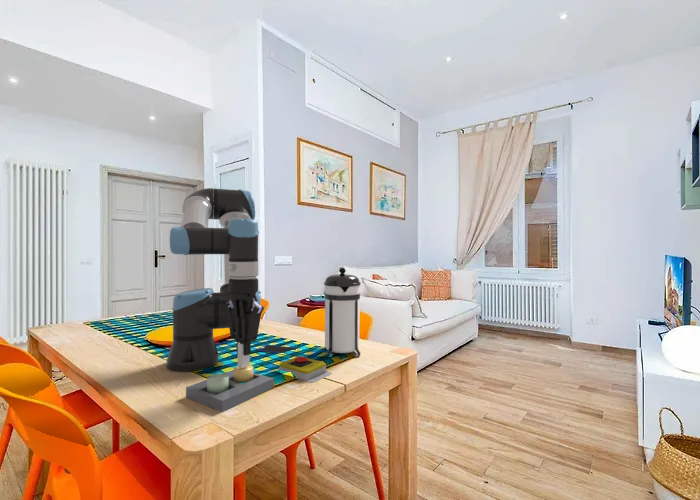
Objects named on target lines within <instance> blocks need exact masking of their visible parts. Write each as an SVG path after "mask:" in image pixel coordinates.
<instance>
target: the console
mask: <svg viewBox="0 0 700 500" xmlns="http://www.w3.org/2000/svg"><path fill="white" fill-rule="evenodd" d="M223 374H227V375H228V376H229V389H228V390H227V391H224V392H222V393H219V394H211V393H208V392H207V379H205V380H202V381H200V382H196V383H194V384H191V385H188V386H186V387H185V397H186V398H188V399H190V400H192V401H195V402H198V403H200V404H202V405H205V406H207V407H210V408H212V409H215V410H217V411H219V412H225V411H228V410H230V409H232V408H234V407H236V406H238V405H240V404H242V403H245V402H247V401H250V399H253V398H255V397H257V396H259V395H261V394H264V393H266V392H269V391H270V390H272V389H274V387H275V385H274V383H275V381H274V380H275V379H274V378H273V377H270V376H265V375H264V374H263V375H262V374H260V373H255V372H253V380H251V381H248V382H246V383H244V384H241V383H238V382H235V381H234V369H232V370H230V371H226V372H224V373H223Z"/></svg>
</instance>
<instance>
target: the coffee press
mask: <svg viewBox="0 0 700 500" xmlns="http://www.w3.org/2000/svg"><path fill="white" fill-rule="evenodd" d="M338 271H339V273H340V274H332V275H329V276H327V277H326V278H325V281H324V282H323V285H324V349H325V348H326V349H327V350H326V349H325V350H326V351H327V353H326V357H327V356H330V354H331V355H333V356H334V354H338V353H339V354H347V353H352V354H353V356H354V357H356V358H358V357H360V356H361V352H360V350H359V346H360V299H361V293H360V287H361V281H360V279H359V277H358V276H355V274H353V275H352V274H346V271H347V270H346V268H345V267H342V266H341V267H340V268H339V269H338Z"/></svg>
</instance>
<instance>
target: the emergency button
mask: <svg viewBox="0 0 700 500" xmlns="http://www.w3.org/2000/svg"><path fill="white" fill-rule="evenodd" d="M278 370H282V371H287V372H291V373H293V374H294V375H295V376H296V377H297V378H296V379H297V380H299V381H304V382H307V383H311V384H312V383H317V381H320V380H322V379H324V378H326V377H329V376H331V375H332V373H333V372H331V371H327V364H326V362H323V361H320V360H316V359H312V358H308V357H305V356H296V357H293V358H290V359H288V360H285V361H281V362H279V369H278Z"/></svg>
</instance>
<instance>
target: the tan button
mask: <svg viewBox="0 0 700 500" xmlns="http://www.w3.org/2000/svg"><path fill="white" fill-rule="evenodd" d="M233 370H234V381H235V382H238V383H246V382H248V381H251V380H253V373H254V366H253V365H251V364H250V366H247V367H244V368H242V369H241V368H238V365H237V366H235V367H234V368H233Z"/></svg>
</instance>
